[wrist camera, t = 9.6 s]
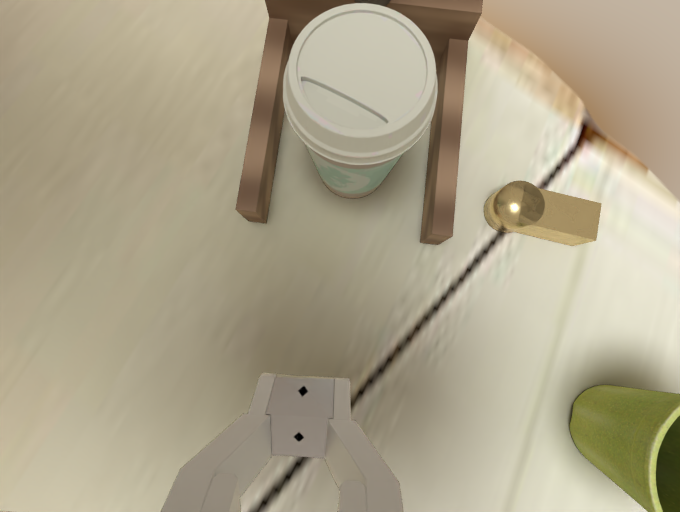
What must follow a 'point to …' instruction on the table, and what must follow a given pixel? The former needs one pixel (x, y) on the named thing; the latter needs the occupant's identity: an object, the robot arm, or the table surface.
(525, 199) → the brass knob block
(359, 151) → the coffee cup
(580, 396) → the plant pot
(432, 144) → the brown wooden u-shaped frame
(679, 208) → the table surface
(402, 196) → the table surface
